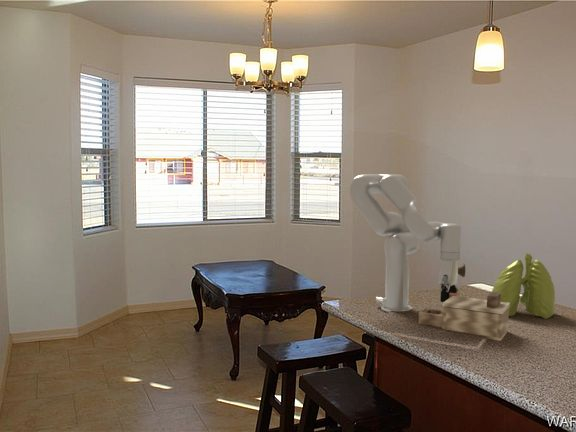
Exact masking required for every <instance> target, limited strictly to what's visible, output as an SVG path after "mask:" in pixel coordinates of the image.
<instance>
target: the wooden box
mask: <svg viewBox="0 0 576 432" xmlns="http://www.w3.org/2000/svg"><path fill="white" fill-rule="evenodd" d="M509 317H510V316H509V308H508V309H507V310H506V311H505V312H504V313H503V314H496V313H488V312H481V311H474V310H467V309H459V308H452V307H445V306H442V309H437V308H429V307H425V308H424V309H423V310H421V311H419V312H418V325H427V326H430V327H431V326H432V327H438V328H442V330H447V331H453V332H459V333H465V334H471V335H472V334H473V335H479V336H483V339H487V340H492V341H499V342H500V341H502V340H503V339H504V337H505V336H506V335H507V333H508V332H509Z"/></svg>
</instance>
